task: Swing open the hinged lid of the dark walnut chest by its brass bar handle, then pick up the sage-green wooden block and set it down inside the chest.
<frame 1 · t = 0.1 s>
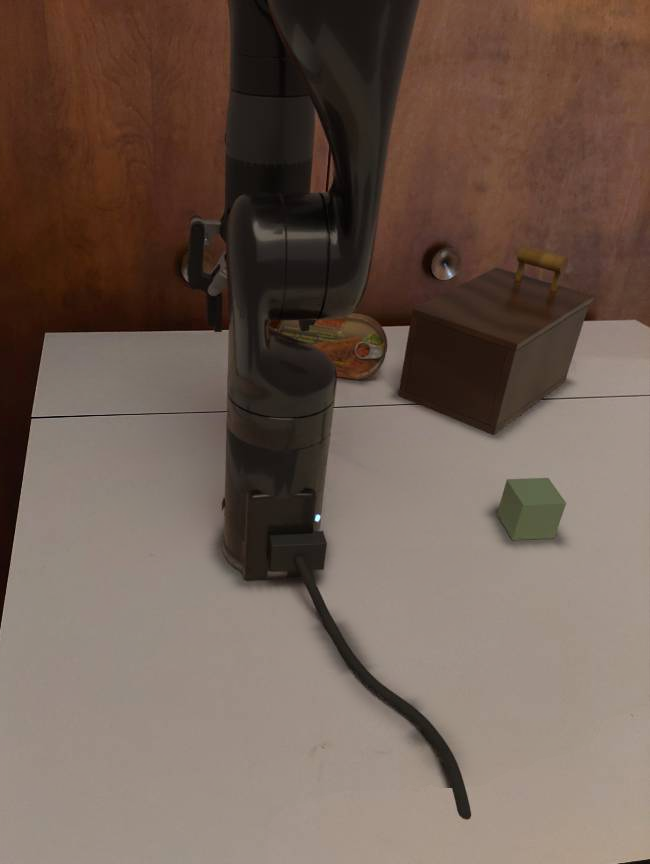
hand: (261, 328, 79), 17 cm above the table, tool pointing down, fingers open, 8 cm apart
tin: (328, 372, 110), on the table
chest: (483, 388, 107), on the table
lid: (509, 287, 99), point 14 cm above the table, hinge at 0.0°
block: (524, 526, 83), on the table
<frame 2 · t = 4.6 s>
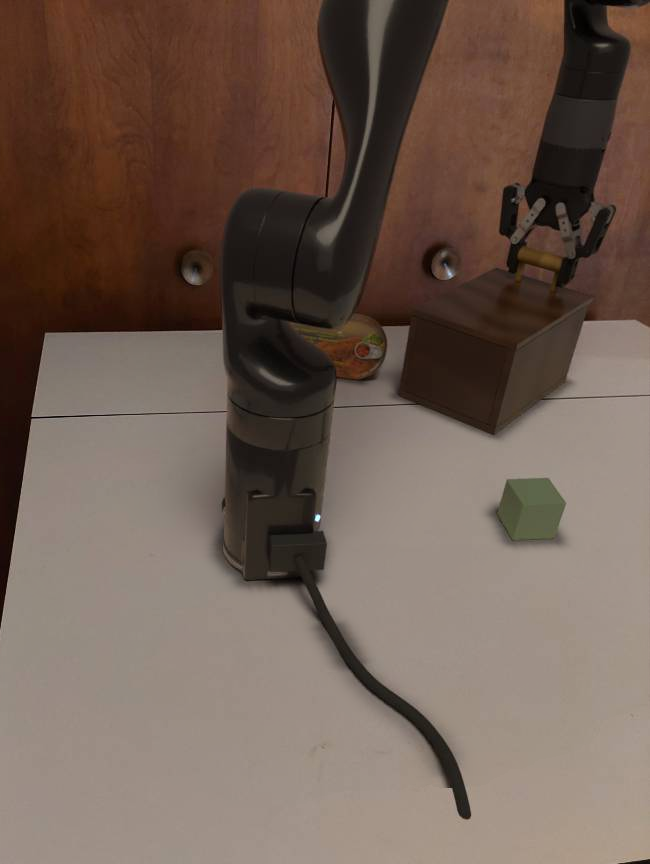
hand: (537, 278, 104), 13 cm above the table, tool pointing down, fingers closed on lid, 6 cm apart
lid: (509, 287, 99), point 14 cm above the table, hinge at 0.0°, touching gripper
everything else where it was.
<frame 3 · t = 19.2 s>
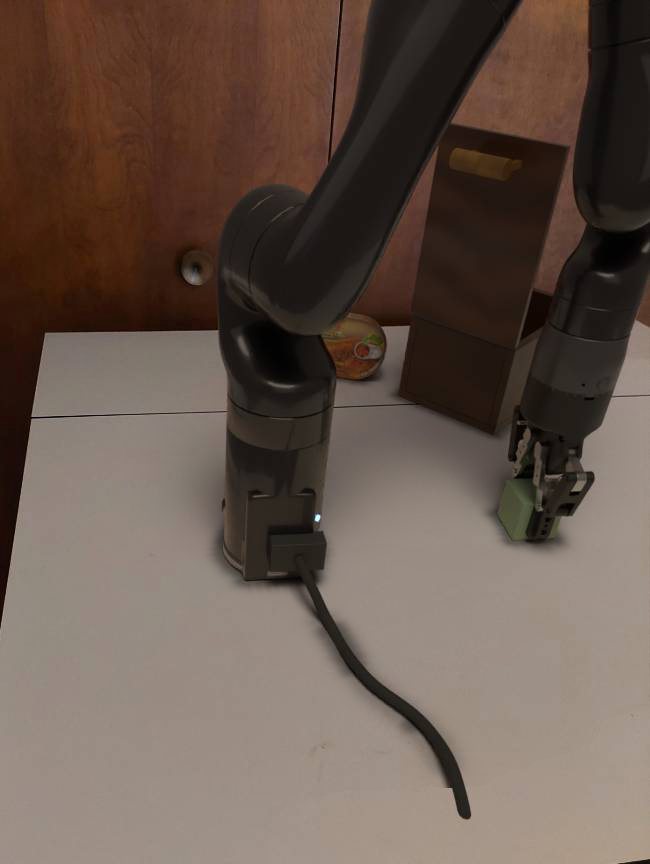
hand: (526, 521, 83), 1 cm above the table, tool pointing down, fingers closed on block, 4 cm apart
lid: (471, 242, 86), point 22 cm above the table, hinge at 89.8°
block: (524, 526, 83), on the table, touching gripper
everything else where it was.
when the fingers open (2 cm above the table, at t = 34.5 s): block stays where it is, resting on chest.
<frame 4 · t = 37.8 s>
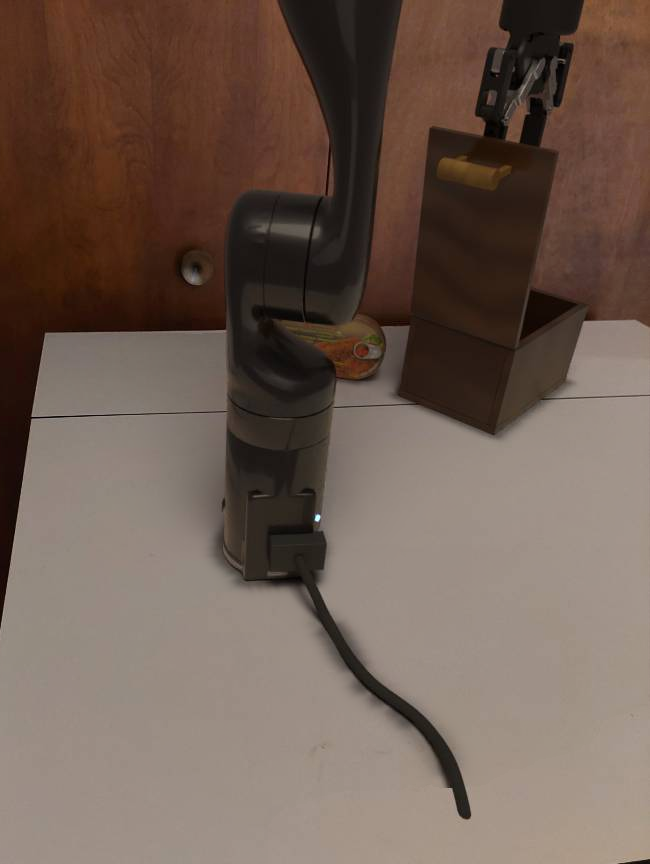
hand: (508, 158, 86), 29 cm above the table, tool pointing down, fingers open, 8 cm apart
lid: (465, 248, 86), point 22 cm above the table, hinge at 96.7°
block: (483, 381, 107), point 1 cm above the table, touching chest
everything else where it was.
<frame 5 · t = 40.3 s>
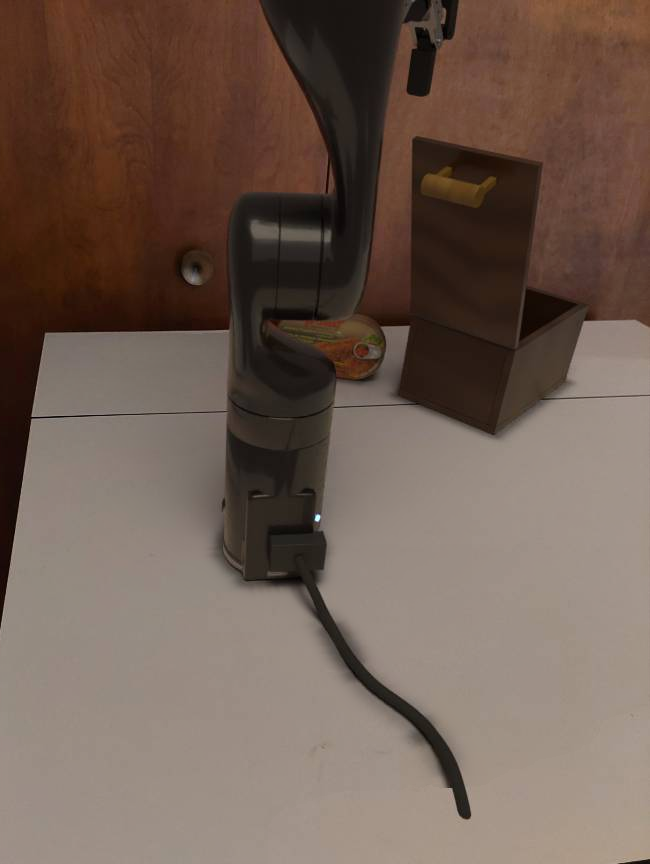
hand: (392, 100, 73), 36 cm above the table, tool pointing down, fingers open, 8 cm apart
lid: (456, 257, 85), point 21 cm above the table, hinge at 105.3°
everything else where it was.
at the end: lid at +105° (first picture: +0°); block inside the target area in the chest (0.1 cm from its centre), point 1.0 cm above the chest's base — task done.
